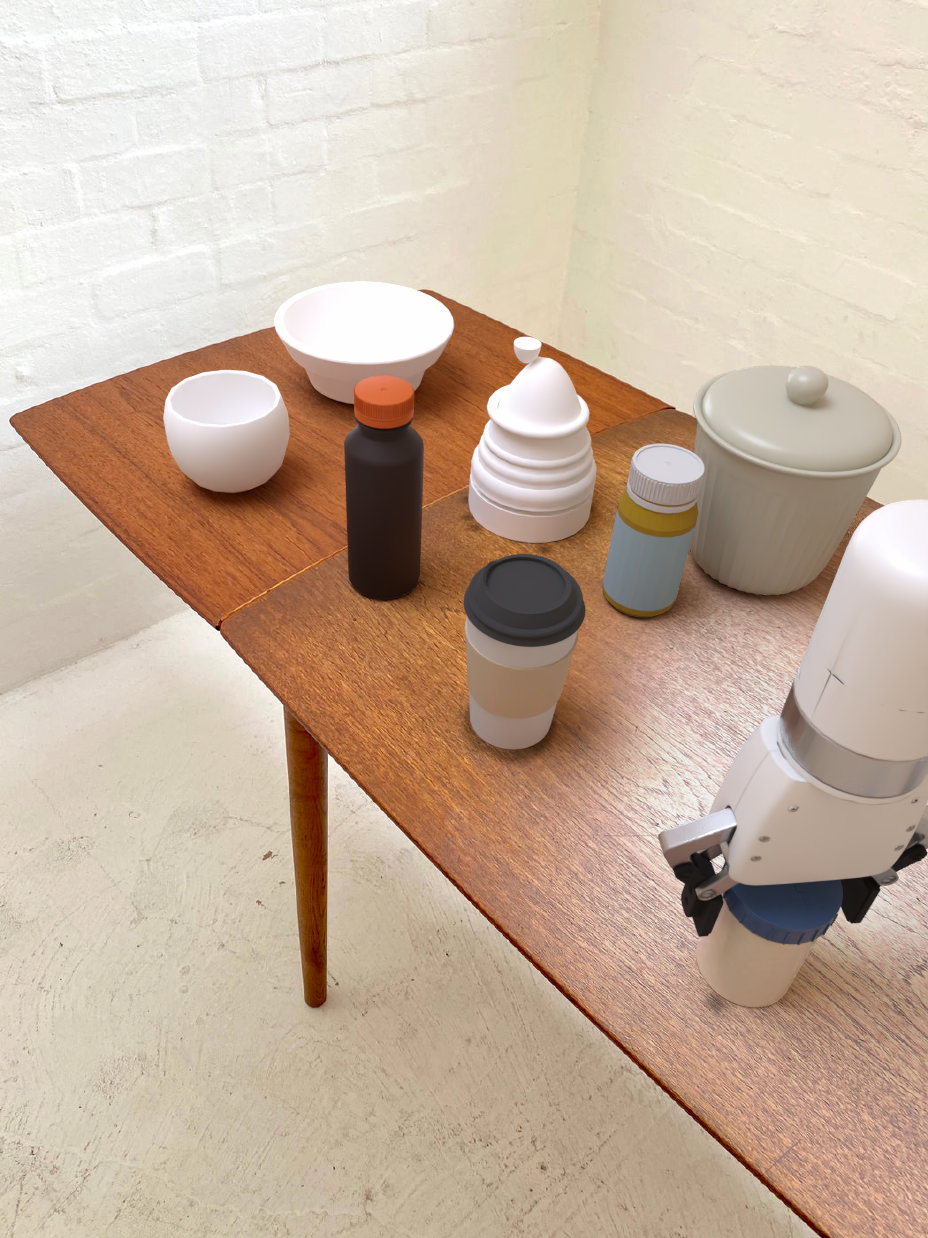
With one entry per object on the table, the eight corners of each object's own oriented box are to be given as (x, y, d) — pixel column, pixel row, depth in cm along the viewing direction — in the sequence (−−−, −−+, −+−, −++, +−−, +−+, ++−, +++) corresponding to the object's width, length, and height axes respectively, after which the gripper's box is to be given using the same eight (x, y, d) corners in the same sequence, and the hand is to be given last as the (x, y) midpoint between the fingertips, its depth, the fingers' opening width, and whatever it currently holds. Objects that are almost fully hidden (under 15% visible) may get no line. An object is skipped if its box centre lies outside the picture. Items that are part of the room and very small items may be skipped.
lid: (700, 856, 62) (706, 841, 61) (799, 836, 63) (807, 820, 62) (752, 957, 57) (759, 942, 56) (857, 932, 58) (866, 917, 57)
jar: (801, 944, 67) (845, 866, 61) (779, 1025, 63) (823, 949, 56) (711, 904, 69) (744, 823, 62) (683, 980, 65) (715, 901, 58)
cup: (312, 492, 103) (307, 411, 96) (199, 525, 97) (186, 442, 91) (264, 435, 110) (256, 356, 104) (157, 464, 105) (142, 383, 98)
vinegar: (388, 611, 90) (388, 420, 76) (333, 580, 92) (324, 390, 79) (434, 575, 94) (442, 388, 80) (380, 546, 97) (379, 361, 83)
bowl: (350, 447, 109) (348, 381, 104) (245, 373, 120) (238, 309, 115) (486, 389, 120) (491, 327, 115) (379, 326, 131) (378, 266, 126)
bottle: (594, 610, 91) (620, 476, 81) (608, 566, 96) (634, 434, 86) (669, 628, 90) (705, 494, 80) (679, 582, 95) (714, 450, 85)
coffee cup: (574, 691, 83) (599, 554, 73) (552, 772, 77) (577, 632, 67) (472, 667, 85) (483, 529, 75) (442, 744, 78) (450, 604, 68)
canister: (826, 645, 89) (909, 448, 75) (637, 584, 94) (680, 388, 80) (855, 538, 102) (931, 351, 87) (686, 489, 107) (732, 305, 92)
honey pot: (452, 526, 100) (461, 365, 87) (487, 460, 109) (500, 306, 97) (575, 554, 97) (602, 392, 85) (601, 485, 106) (628, 330, 94)
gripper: (979, 667, 54) (875, 848, 65) (673, 683, 51) (622, 868, 63) (1056, 775, 48) (927, 953, 60) (717, 799, 46) (652, 978, 57)
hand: (770, 909), depth 61 cm, fingers open, 9 cm apart
